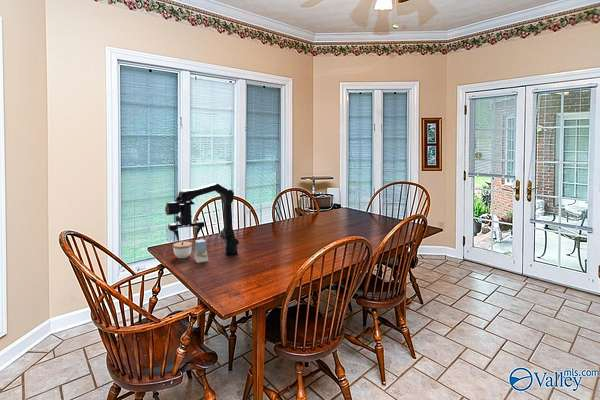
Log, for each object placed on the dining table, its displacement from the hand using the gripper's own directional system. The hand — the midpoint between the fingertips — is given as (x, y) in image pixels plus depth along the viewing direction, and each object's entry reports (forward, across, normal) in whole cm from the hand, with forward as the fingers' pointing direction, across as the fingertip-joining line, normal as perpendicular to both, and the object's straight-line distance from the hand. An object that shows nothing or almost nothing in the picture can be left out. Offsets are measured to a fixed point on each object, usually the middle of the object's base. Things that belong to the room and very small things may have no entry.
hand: (187, 240), depth 201 cm
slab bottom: (+13, -8, -1) cm, 15 cm away
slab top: (+10, -8, -1) cm, 13 cm away
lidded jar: (+13, 0, -12) cm, 18 cm away
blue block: (+7, -8, -1) cm, 11 cm away
